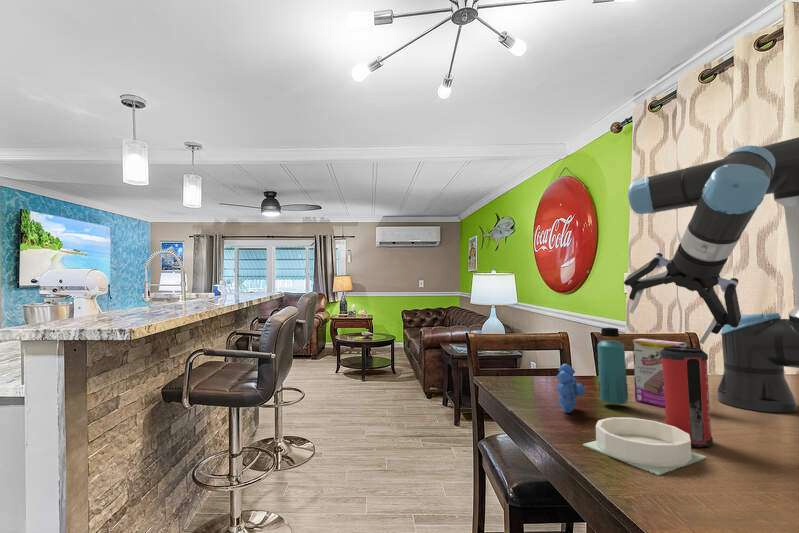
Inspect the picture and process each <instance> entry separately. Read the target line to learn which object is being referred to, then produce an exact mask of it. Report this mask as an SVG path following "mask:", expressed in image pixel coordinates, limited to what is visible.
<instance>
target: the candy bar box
mask: <svg viewBox="0 0 799 533" xmlns="http://www.w3.org/2000/svg"><path fill="white" fill-rule="evenodd" d="M670 346H678V347H688V343H686V342H680V341H671V340H670V341H669V340H660V339H651V338H650V339H649V338H637V339H633V340H632V348H633V349H632V350H633V351H632V352H633V355H632V356H633V374H634V375H633V377H634V400H635V402H638V403H643V404H648V405H652V406H656V405H657V407H662V408H665V395H664V376H663V367H662V357H661V353H660V351H661V350H663V349H664V348H665V347H670Z"/></svg>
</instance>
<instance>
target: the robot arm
mask: <svg viewBox="0 0 799 533" xmlns="http://www.w3.org/2000/svg"><path fill="white" fill-rule="evenodd" d="M627 191H628V192H627V196H628V197H627V198H628V203H629V206H630V208H631V210H633V212H635V213H636V214H638V215H647V214H655V213H661V212H666V211H671V210H678V209H683V208H690V207H695V210H694V211H693V214H692V217H691V219H690V221H689V223H688V225H687V227H686V229H685V230H684V233H683V236H682V237H681V240H680V243H679V244H678V246H677V249H676V250H675V253H674V256H673V258H672V259H668V258H664V257H663V256H664V255H663V254H662V253H661V252H656V254H655V255H654V256H653V258H652V260H650V261H648V262H646V263H645V264H643V265H642V266H640V267H639V268H637V269H635V271H632V272H631V273H630V274H629V275H627V277H626V278H625V280H624V282H623V284H624V285H625V286H630V287H631V290H630V294H629V295H628V296H629V297H628V298H629V300H632V304H631V306H630V308H629V311H628V312H629V314H634V312H635V311H636V309H637V307H638V305H639V303H640V300H641V297H642V295H643V293H644V290H646V289H650V288H652V287H653V288H654V287H656V286H657V287H658V286H661V285H663V284H664V285H667V284H673V283H674V284H675V286H677V287H681V288H685V289H686V290H688V291H691V292H694V291H696V292H697V293H698V295H699V297H700V298H701V299H703V302H705V304H706V306H707V308H708V309H709V311H710V314H711V315H712V316H713V317H712V318H711V320H710V322H709V323H708V325H707V327H706V328H705V330H704V332H703V333H702V335H701V337H700V340H699V341H698V343H700V344H702V345H703V344H705V342H706V340H707V339H708V337H709V336H710V334H715V335H718V334H719V333H720V335H721V344H722V345H721V347H722V359H723V374H722V376H721V379H720V381H719V385H718V388H717V391H716V396H717V401H718V402H719V403H720V402H721V403H722V404H725V405H727V406H731V407H736V408H739V409H740V408H741V409H745V410H750V411H751V410H752V411H756V412H757V411H758V412H767V413H793V412H796V411H797V410H798V408H797V401H796V398H795V396H794V393H793V392H792V390H791V387H790V386H789V384H788V381H787V379H786V378H785V369H784V368H785V367H787V368H794V369H799V137H796V138H791V139H787V140H786V139H785V140H784V141H783V140H782V141H779V142H774V143H770V144H767V145H763V146H759V145H745V146H741V147H737V148H736V149H734V150H732V151H731V152H729V153H728V154H727V155H726V156H724V157H723V158H720V159H717V160H714V161H710V162H706V163H702V164H698V165H693V166H689V167H686V168H681V169H676V170H672V171H667V172H663V173H659V174H653V175H650V176H645V177H642V178H638V179H636V180H633V181H632V182H631V184H629V187H628V190H627ZM770 194H773V200H774V202H776V203H778V204H779V205H781V206H782V207H783V208H784V216H785V225H786V234H787V240H788V241H787V243H788V248H789V249H788V250H789V255H790V256H789V257H790V264H791V273H792V280H793V281H792V282H793V289H794V295H795V296H794V297H795V307H794V308H792V309H791V310H790V311H789V312H788V318H782V315H781V314H780V313H779V312H769V313H768V312H766V313H752V314H742V313H741V308H740V304H739V303H740V302H739V299H738V298H739V297H738V293H737V286H738V284H739V279H738V278H736V277H731V278H730V279H727V278H723V277H720V274H721V272H722V270H723V268H724V266H726V263H727V261H728V259H729V257H730V256H731V255H732V253H733V251H734V249H735V247H736V246H737V245H738V242H739V241H740V239H741V237H742V234H743V232H744V231H745V229H746V228H747V226H748V224H749V223H750V221H751V220H752V218H753V216H754V214H755V213H756V211H757V210H758V207H759V206H760V205H761V204H762V203H763V201H764V199H765V198H764V197H765V196H766V195H770ZM662 267H665V268H666V270H665V271H664V272H661V273H656V274H653V275H649V276H647V275H648V274H650V273H652V272H653V271H654V270H655V269H659V268H662ZM645 276H647V277H645ZM643 277H644V278H643ZM715 286H719V287H720V290H721V292H722V293H723V296H724V297H723V298H724V299H723V300H724V303H725V307H724V305H723V304H722V302H721V300H720V298H719V295H717V293H716V291H715V288H714V287H715ZM720 331H721V332H720Z"/></svg>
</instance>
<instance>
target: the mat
mask: <svg viewBox="0 0 799 533" xmlns="http://www.w3.org/2000/svg"><path fill="white" fill-rule="evenodd" d="M582 446H583V447H586V448H587V449H590V450H593V451H596V452H598V453H601V454H602V455H606V456H608V457H611V458H613V459H615V460H618V461H621V462H623V463H626V464H628V465H631V466H634V467H635V468H639V469H641V470H643V471H646V472H648V471H649V473H651V474H653V473H654V474H653V475H656V476H662V475H665V474H666V472H667V473H670V472H672V471H675V470H678V469H681V468H683V467H686V466H689V465H691V464H696V463H697V462H701V461H703V460H705V459H707V456H705V455H703V454H700V453H696V452H692V451H691V456H692V459H691V462H690V463H689V464H687V465H685V466H681V468H680V467H672V468H664V467H652V466H645V465H639V464H635V463H631V462H627V461H624V460H621V459H618V458H615V457H613V456H611V455H609V454H607V453H605V452H604V451H602V450H601V449H600V448H599V447H598V444H597V442H596V440H594V441H590V442H585V443H582ZM677 468H678V469H677ZM669 471H670V472H669Z"/></svg>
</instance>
